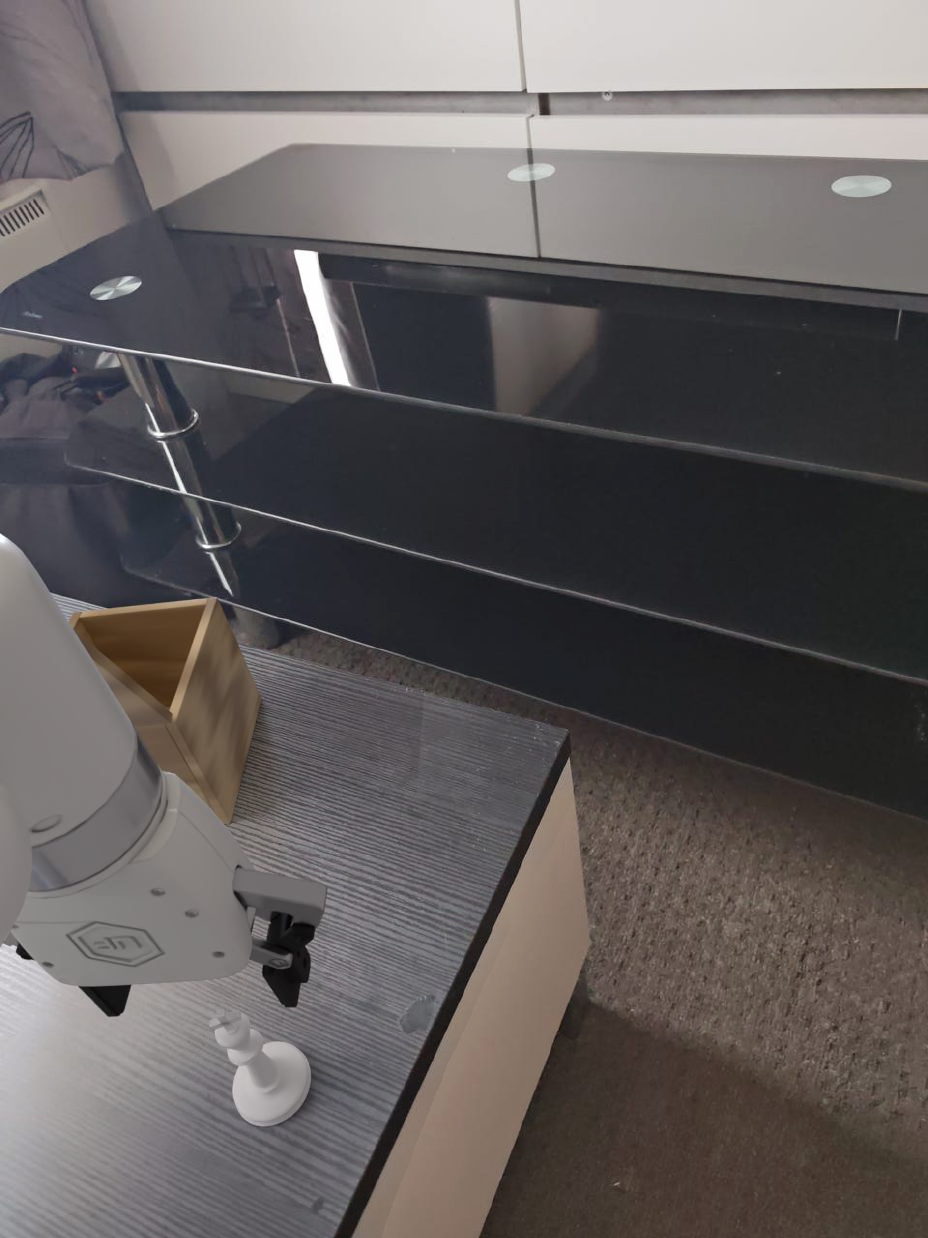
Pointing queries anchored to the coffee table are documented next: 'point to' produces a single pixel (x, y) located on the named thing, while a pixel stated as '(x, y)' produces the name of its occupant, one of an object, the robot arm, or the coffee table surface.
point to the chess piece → (262, 1071)
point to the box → (186, 689)
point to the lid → (129, 692)
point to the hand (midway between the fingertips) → (209, 985)
